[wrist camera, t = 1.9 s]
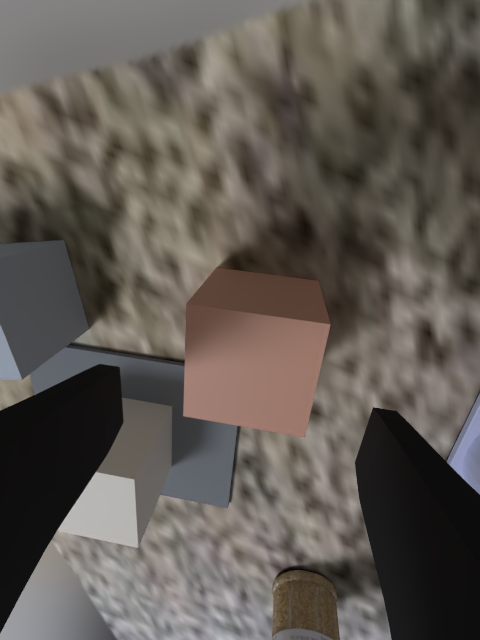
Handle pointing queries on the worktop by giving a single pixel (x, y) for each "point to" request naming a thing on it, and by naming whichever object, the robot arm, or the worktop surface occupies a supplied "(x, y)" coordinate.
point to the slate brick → (36, 305)
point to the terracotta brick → (254, 350)
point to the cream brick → (127, 478)
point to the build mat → (187, 433)
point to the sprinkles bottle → (304, 607)
